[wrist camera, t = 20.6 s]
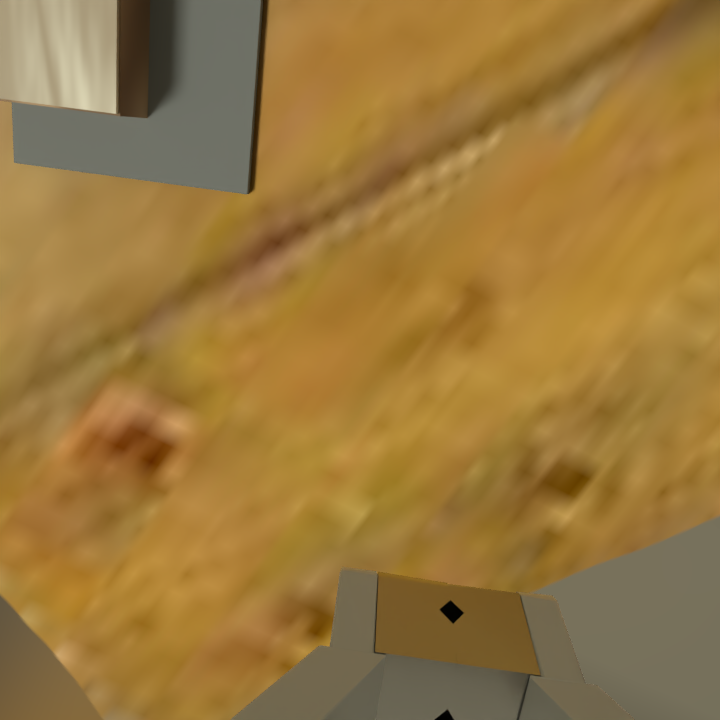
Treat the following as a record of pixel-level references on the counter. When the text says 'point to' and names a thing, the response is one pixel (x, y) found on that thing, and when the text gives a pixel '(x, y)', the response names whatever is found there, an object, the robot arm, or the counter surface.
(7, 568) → the counter surface
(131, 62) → the wooden block
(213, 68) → the rubber mat
